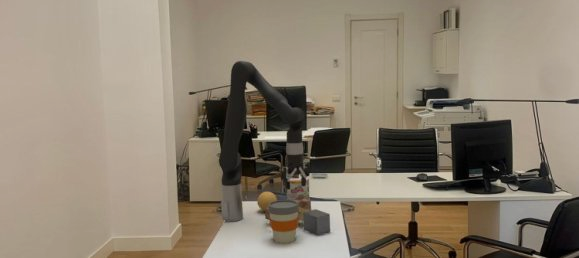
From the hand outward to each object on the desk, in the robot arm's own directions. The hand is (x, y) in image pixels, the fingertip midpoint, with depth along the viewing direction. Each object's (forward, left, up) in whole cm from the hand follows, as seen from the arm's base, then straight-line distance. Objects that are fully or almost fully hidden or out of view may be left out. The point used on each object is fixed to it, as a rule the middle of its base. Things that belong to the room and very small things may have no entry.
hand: (295, 187), depth 211 cm
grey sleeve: (0, -14, -17) cm, 22 cm away
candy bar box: (+11, +14, -17) cm, 25 cm away
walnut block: (0, +7, -17) cm, 18 cm away
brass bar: (0, -3, -14) cm, 14 cm away
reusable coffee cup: (-16, -13, -17) cm, 27 cm away
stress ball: (0, +25, -17) cm, 30 cm away
